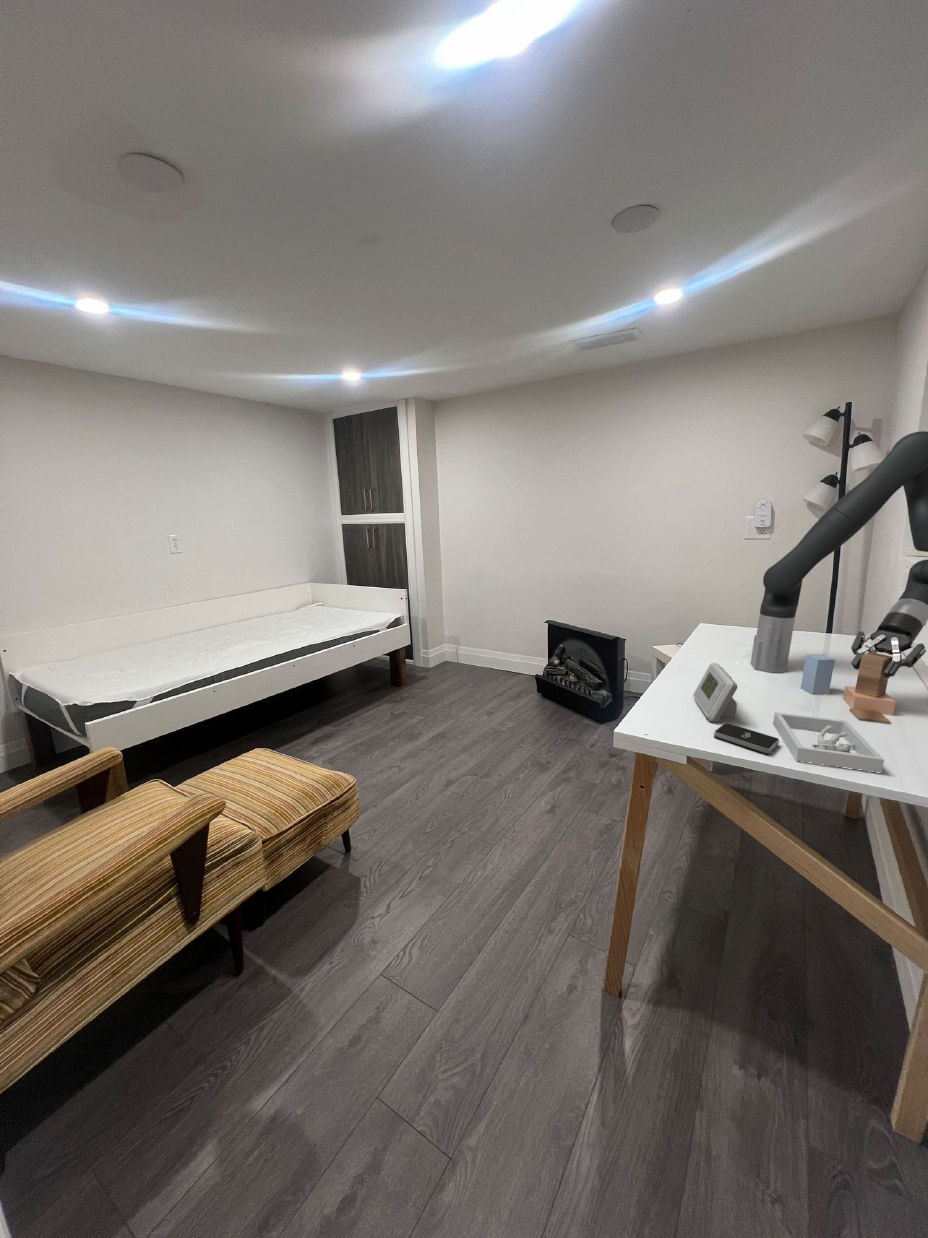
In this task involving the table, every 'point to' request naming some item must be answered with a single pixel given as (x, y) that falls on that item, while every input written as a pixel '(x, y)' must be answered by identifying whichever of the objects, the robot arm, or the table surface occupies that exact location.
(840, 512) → the robot arm
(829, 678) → the slate pillar
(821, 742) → the soldier figure
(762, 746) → the external hard drive
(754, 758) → the table surface
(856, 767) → the grey display tray
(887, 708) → the terracotta block
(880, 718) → the walnut swatch
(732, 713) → the digital clock
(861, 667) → the walnut pillar
